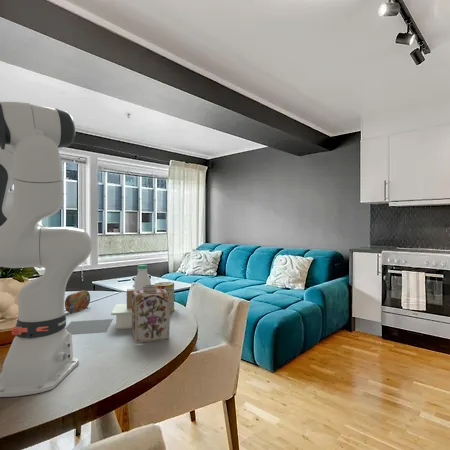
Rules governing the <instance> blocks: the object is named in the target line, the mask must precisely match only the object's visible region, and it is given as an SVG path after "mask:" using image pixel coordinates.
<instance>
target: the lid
mask: <svg viewBox="0 0 450 450" xmlns="http://www.w3.org/2000/svg"><path fill="white" fill-rule="evenodd" d="M134 291H135V289H134V288H127V290H126V303H119V304H118V303H116V304H115V306H114V307H113V309H112V311H111V314H110V315H111V316H116V315H126V314H132V295H133V292H134Z"/></svg>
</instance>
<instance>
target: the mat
mask: <svg viewBox="0 0 450 450" xmlns="http://www.w3.org/2000/svg"><path fill="white" fill-rule="evenodd" d="M112 321H113V318H110V319H109V318H108V319H107V318H105V319H94V320H93V319H92V320H77V321H74V320H73V321H70V323H68V324H67V325H66V327H65V328H66V330H67V331H68V332H69V333H70V334H71V335H72V336H73V335H86V334H89V335H90V334H100V333H103V334H104V333H107V332H108V330H109V328H110V327H111V324H112Z"/></svg>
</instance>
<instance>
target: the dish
mask: <svg viewBox="0 0 450 450" xmlns="http://www.w3.org/2000/svg"><path fill="white" fill-rule="evenodd" d="M115 321H116V323H115V324H116V325H115V328H116V330H121V329H132V314H126V315H115Z"/></svg>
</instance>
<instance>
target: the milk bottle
mask: <svg viewBox="0 0 450 450" xmlns="http://www.w3.org/2000/svg"><path fill="white" fill-rule="evenodd" d="M136 267H137V275H136V276H135V277H136V278H135V279H134V285H133V289H135V291H137V290H140V289H143V286H144V285H152V283H151V279H150V276H149V273H148V264H138V265H137V266H136Z"/></svg>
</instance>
